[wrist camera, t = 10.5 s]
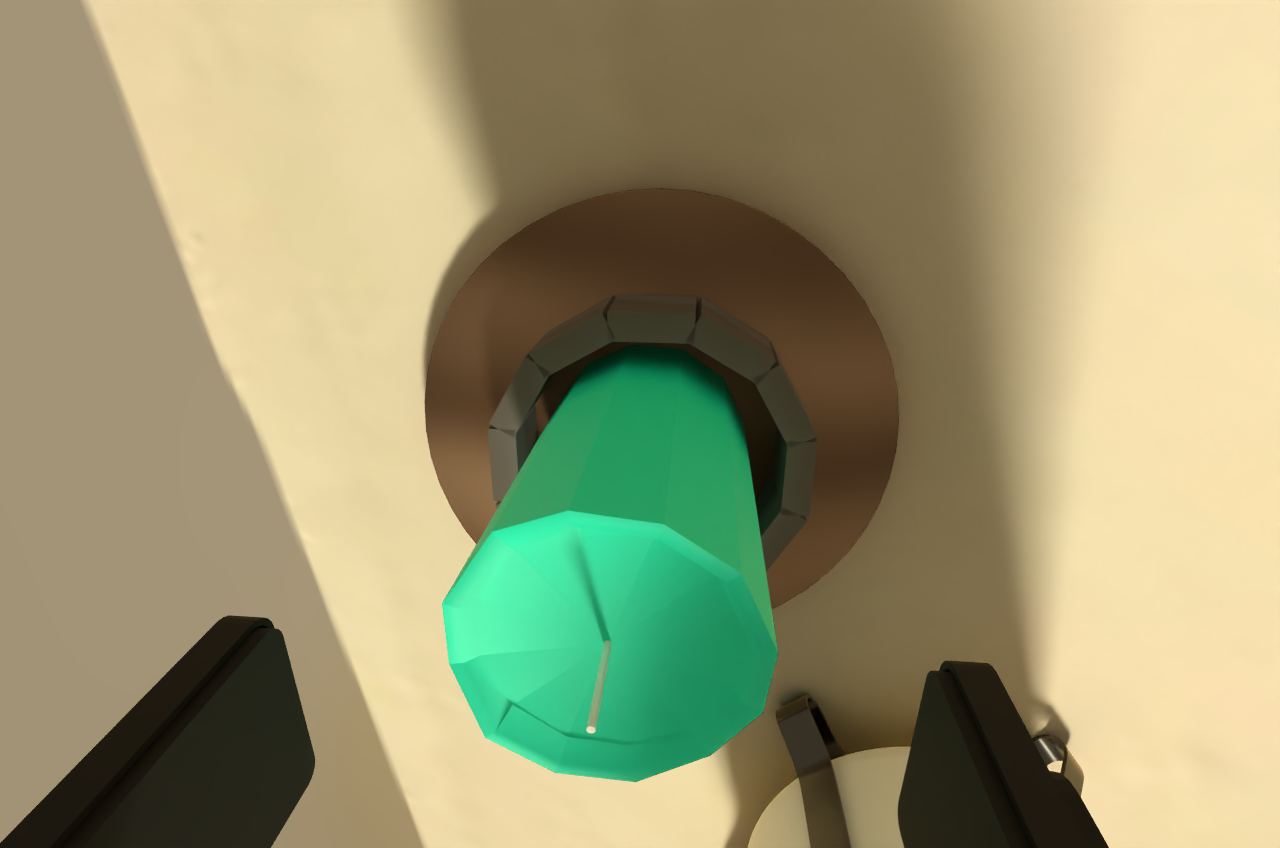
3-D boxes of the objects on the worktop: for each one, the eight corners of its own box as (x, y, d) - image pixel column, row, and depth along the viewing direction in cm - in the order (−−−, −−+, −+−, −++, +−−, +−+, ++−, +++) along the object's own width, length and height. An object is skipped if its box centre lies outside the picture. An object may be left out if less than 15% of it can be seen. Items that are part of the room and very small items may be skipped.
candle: (731, 328, 20) (764, 540, 9) (754, 506, 22) (805, 858, 11) (536, 358, 21) (349, 586, 10) (577, 527, 23) (459, 872, 12)
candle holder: (411, 185, 20) (356, 191, 17) (925, 191, 19) (971, 198, 16) (457, 602, 26) (421, 665, 23) (858, 626, 25) (882, 697, 22)
